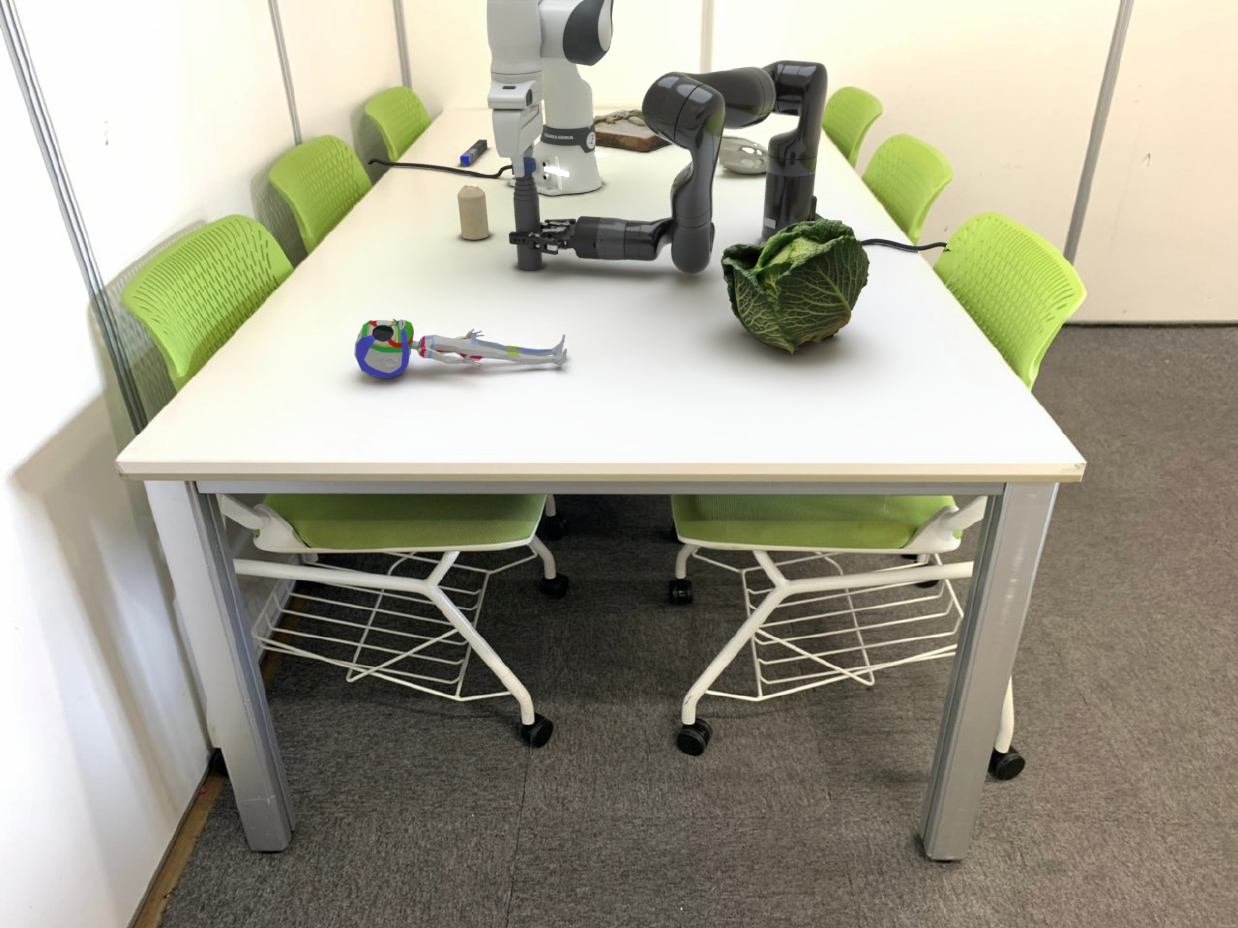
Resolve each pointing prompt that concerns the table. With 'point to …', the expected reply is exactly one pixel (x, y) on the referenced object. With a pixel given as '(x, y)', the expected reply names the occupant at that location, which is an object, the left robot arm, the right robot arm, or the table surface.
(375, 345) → the toy
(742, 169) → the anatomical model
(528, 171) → the cap
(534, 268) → the bottle
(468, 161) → the pillar
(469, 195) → the candle
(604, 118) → the plaque
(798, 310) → the vegetable
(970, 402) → the table surface
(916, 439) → the table surface
